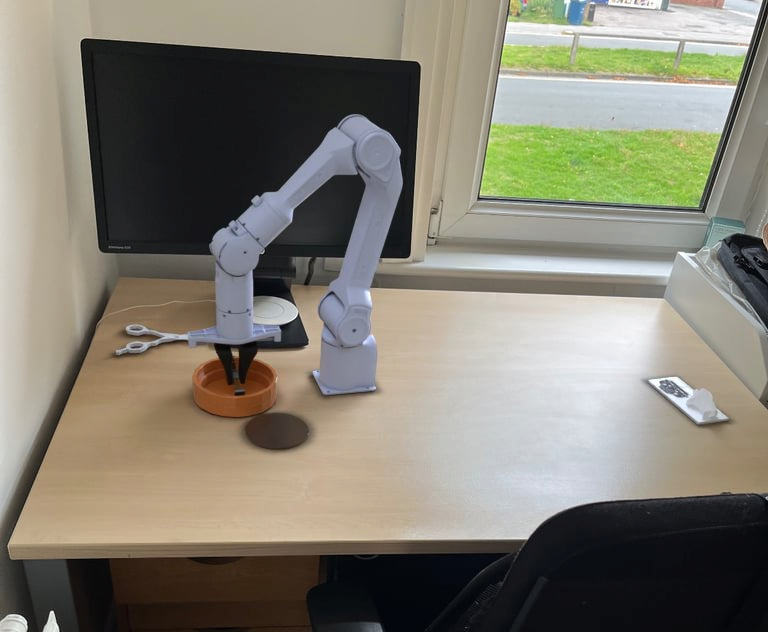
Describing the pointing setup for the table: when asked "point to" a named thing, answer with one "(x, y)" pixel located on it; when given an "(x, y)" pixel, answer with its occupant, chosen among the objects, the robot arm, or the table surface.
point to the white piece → (689, 400)
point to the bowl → (220, 396)
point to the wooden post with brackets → (236, 380)
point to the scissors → (144, 345)
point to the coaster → (276, 431)
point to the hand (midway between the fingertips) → (235, 381)
